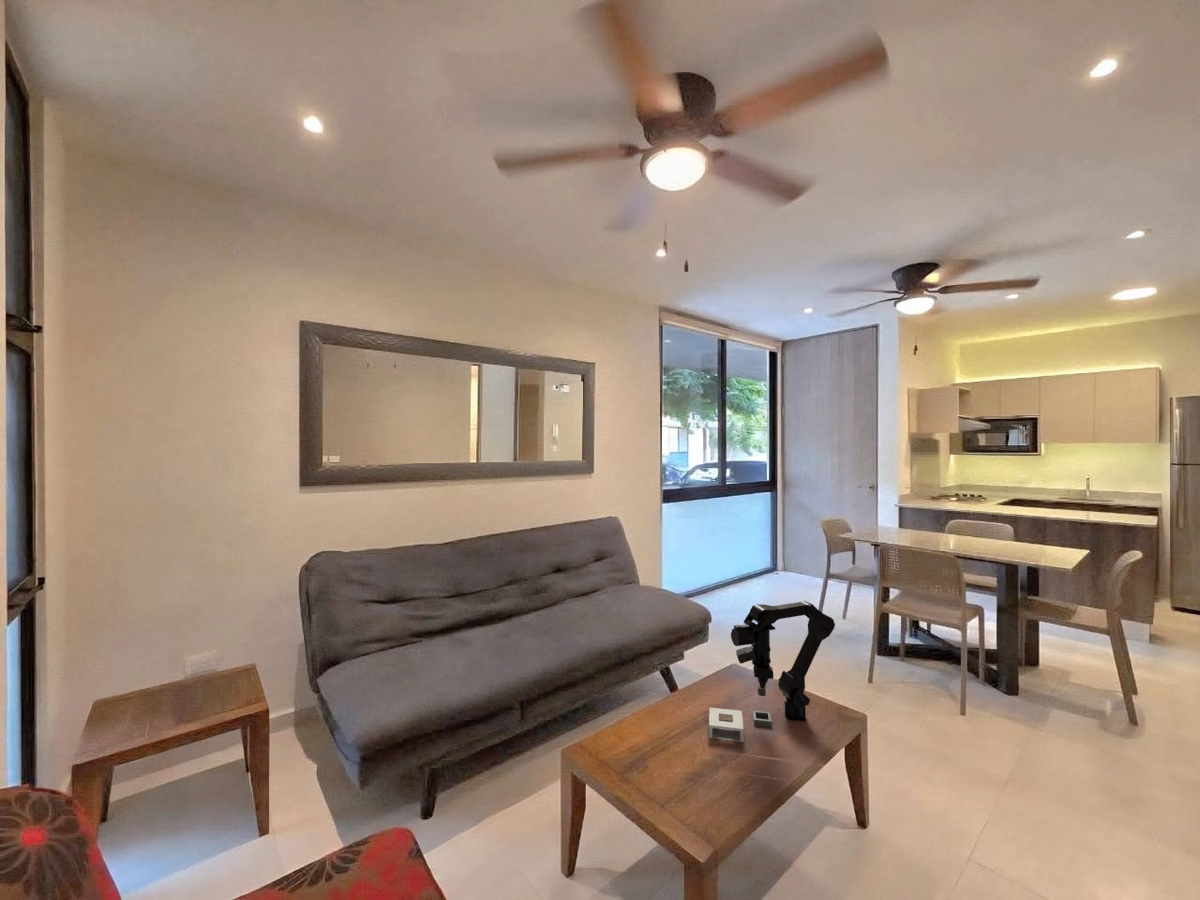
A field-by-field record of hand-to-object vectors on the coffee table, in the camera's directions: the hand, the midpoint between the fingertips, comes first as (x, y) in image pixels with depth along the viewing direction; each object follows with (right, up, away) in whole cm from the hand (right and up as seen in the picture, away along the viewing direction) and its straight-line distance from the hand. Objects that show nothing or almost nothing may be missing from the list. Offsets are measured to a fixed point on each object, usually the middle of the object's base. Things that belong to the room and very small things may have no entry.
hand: (761, 686), depth 174 cm
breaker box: (-14, -13, -5) cm, 20 cm away
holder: (0, -13, 0) cm, 13 cm away
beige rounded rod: (0, -3, 0) cm, 3 cm away
